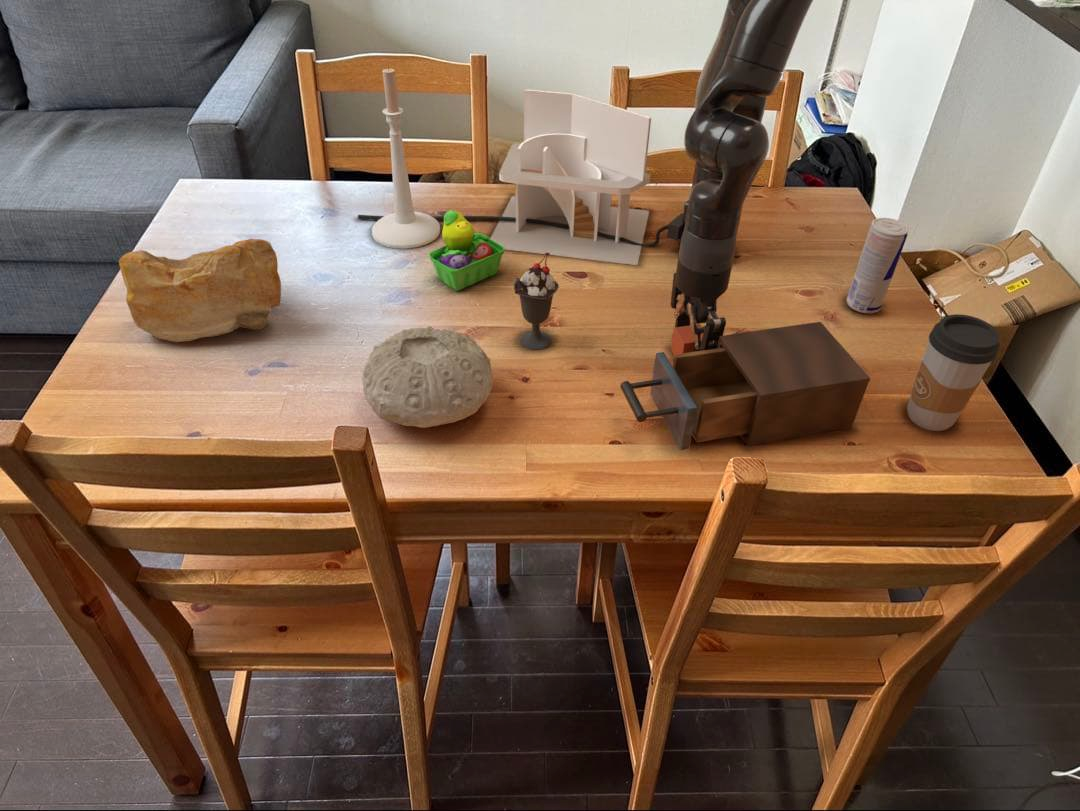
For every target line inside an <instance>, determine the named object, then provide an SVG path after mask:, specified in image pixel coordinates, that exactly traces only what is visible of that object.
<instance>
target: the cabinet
mask: <svg viewBox="0 0 1080 811" xmlns="http://www.w3.org/2000/svg"><path fill="white" fill-rule="evenodd" d="M717 348H724V349H725V350H726V352H727V353H728V355H729V356H730V358H731V359H732V360H733V362H734V363H735V365H736V366H737V368H738V369H739V371H740V372H741V373H742V375H743V376H744V378H745V379H746V381H747V382H748V383H749V385H750V386H751V388H752V389H753V391H754V392H755V394H756V395H757V396H758V397H757V400H756V404H755V408H754V411H753V415H752V419H751V423H750V427H749V431H748V434H743V435H739V436H740V437H741V439H742V441H743V442H744V444H745V446H746V447H747V448H751V447H757V446H762V445H763V446H764V445H769V444H774V443H780V442H785V441H786V442H787V441H791V440H792V441H793V440H798V439H803V438H809V437H814V436H820V435H827V434H832V433H833V434H834V433H838V432H844V431H850V430H852V428H853V425H854V423H855V420H856V417H857V415H858V413H859V409H860V407H861V404H862V401H863V399H864V397H865V394H866V392H867V388H868V386H869V383H870V380H871V377H870V376H869V374H868V373H867V372H866V371H865V370H864V369H863V368H862V367H861V366H860V364H859V363H858V362H857V361H856V360H855V359H854V357H852V356H851V354H850V353H849V352H848V351H847V349H845V347H844V346H843V345H842V344H841V343H840V342H839V341H838V339H836V337H835V336H834V335H833V334H832V333H831V332H830V330H829V329H828V328H827V327H826V326H825V325H824V323H822V321H816V322H809V323H802V324H801V323H800V324H794V325H788V326H780V327H772V328H767V329H759V330H751V331H744V332H739V333H737V332H736V333H730V334H723V336H719V341H718V346H717Z"/></svg>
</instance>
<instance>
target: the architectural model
mask: <svg viewBox="0 0 1080 811" xmlns="http://www.w3.org/2000/svg"><path fill="white" fill-rule="evenodd" d="M651 125H652V117H651V116H647V115H644V114H641V113H637V112H635V111H631V110H628V109H625V108H622V107H618V106H615V105H611V104H609V103H605V102H602V101H599V100H595V99H592V98H589V97H586V96H583V95H578V94H576V93H573V92H572V93H571V92H558V91H548V90H537V89H536V90H535V89H524V90H523V141H522V142H515V143H513V144H512V145H511V146H510V148H509V150H508V152H507V154H506V157H505V159H504V161H503V163H502V165H501V168H500V170H499V173H498V176H499V178H498V179H499V181H501V182H502V183H509V184H514V185H515V195H512V196H511V197H510V199H509V201H508V203H507V205H506V207H505V209H504V211H503V213H502V215H501V217H515V218H516V221H503V220H498V223H497V224H496V226H495V229H494V230H493V232H492V234H491V236H490V237H489V238H490V239H492V240H493V241H495V242H496V243H498V244H500V245H501V246H503V247H504V248H505V250H506V251H516V252H523V253H531V254H541V255H545V253H550V254H549V255H548V256H557V257H564V258H574V259H581V260H582V259H583V260H590V261H591V260H592V261H599V262H606V263H615V264H624V265H631V266H638V264H639V259H640V255H641V250H642V246H638V245H632V244H628V243H625V242H622V241H619V238H620V237H623V238H626V239H628V240H631V241H634V242H636V243H640V244H643V241H644V237H645V232H646V228H647V224H648V218H649V215H650V210H646V209H645V210H644V209H637V208H630V202H631V195H632V194H634V193H635V192H638V191H639V190H640V189H643V188H644V187H646V186H647V185H649V184H650V183H651V182H650V181H651V174H650V173H648V172H647V160H648V151H649V142H650V133H651ZM613 195H617V196H618V203H617V206H612V204H613V203H612V202H613ZM526 219H536V220H543V221H550V222H556V223H562V224H567V225H569V228H570V229H567V228H562V227H557V226H551V225H544V224H537V223H528V222H525V221H526ZM597 231H598V232H601V233H605V234H609V235H614V236H616V238H615V240H614V239H609V238H605V237H601V236H597Z"/></svg>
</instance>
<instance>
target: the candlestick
mask: <svg viewBox="0 0 1080 811" xmlns="http://www.w3.org/2000/svg"><path fill="white" fill-rule="evenodd" d="M382 79H383V88H384V95H385V96H384V97H385V104H386V108H383V110H382V113H383V114H384V115H385V117H386V118H385V121H386V123H388V125H389V132H388V134H389V143H390V144H389V146H390V157H391V174H392V190H393V191H392V192H393V210H394V212H391V213H389V214H385V215H383V216H384V217H382V218H381V219H379V220H377V221H376V222H375V223H374V224H373V226H372V228H371V235H372V238H373V240H374V241H375V242H376V243H378V244H379V245H381V246H384V247H388V248H391V249H403V250H404V249H405V250H406V249H414V248H415V249H416V248H420V247H423V246H427V245H428V244H431V243H432V242H433V241H435V240H437V238H439V236H440V233H441V224H440V222H439V220H436V219H435V218H433V217H432V215H430V214H428V213H425V212H422V211H417V210H414V205H413V199H412V192H411V185H410V180H409V174H408V167H407V161H406V154H405V148H404V143H403V142H404V141H403V135H402V133H403V132H402V130H401V129H400V126H401V122H402V120H403V118H402V114H403V113H404V109H403V108H402V107H399V100H398V99H399V98H398V89H397V81H396V80H397V79H396V70H395V69H394V68H390V67H389V66H388V67H387V68H384V69H382Z"/></svg>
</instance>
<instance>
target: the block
mask: <svg viewBox="0 0 1080 811" xmlns="http://www.w3.org/2000/svg"><path fill="white" fill-rule="evenodd" d="M697 327H702V326H701V323H700V324H697ZM700 337H701V341H702V338H703V333H701V335H700ZM694 346H695V341H694V334H693V333H691V329H690V325H689V326H682V327H675V326H674V327H673V330H672V338H671V344H670V351H671V352H672V354H673V357H674V356H675V355H676V354H683V353H690V352H693V350H694Z"/></svg>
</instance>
